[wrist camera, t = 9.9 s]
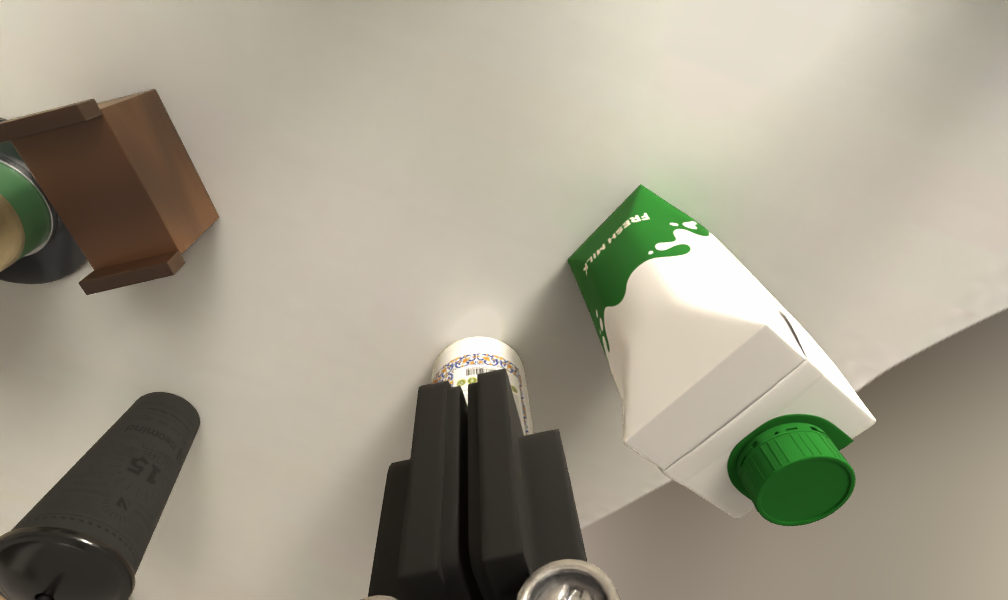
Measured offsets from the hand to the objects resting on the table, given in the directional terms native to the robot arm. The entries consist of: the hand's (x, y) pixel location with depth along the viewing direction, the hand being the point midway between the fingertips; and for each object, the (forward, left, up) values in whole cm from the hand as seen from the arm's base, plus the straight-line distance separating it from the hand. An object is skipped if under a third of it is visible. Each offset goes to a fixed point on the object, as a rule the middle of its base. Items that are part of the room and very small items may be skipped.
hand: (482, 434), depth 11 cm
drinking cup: (+16, -28, -27) cm, 42 cm away
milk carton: (+11, +9, -27) cm, 31 cm away
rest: (-2, -20, -27) cm, 33 cm away
